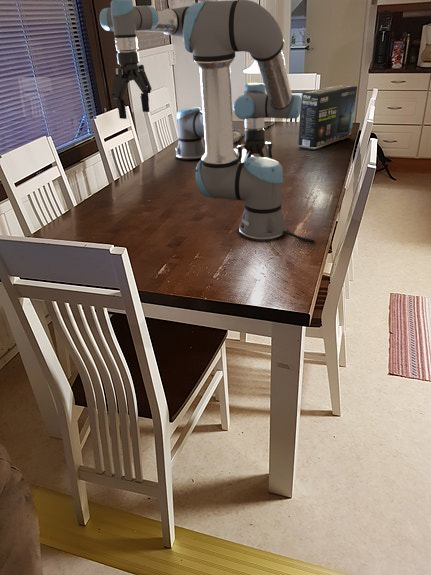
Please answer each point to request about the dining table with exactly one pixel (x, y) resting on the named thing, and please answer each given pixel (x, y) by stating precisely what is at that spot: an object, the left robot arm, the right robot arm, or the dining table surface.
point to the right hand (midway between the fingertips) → (254, 187)
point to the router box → (326, 115)
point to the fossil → (237, 135)
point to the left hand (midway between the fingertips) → (135, 115)
